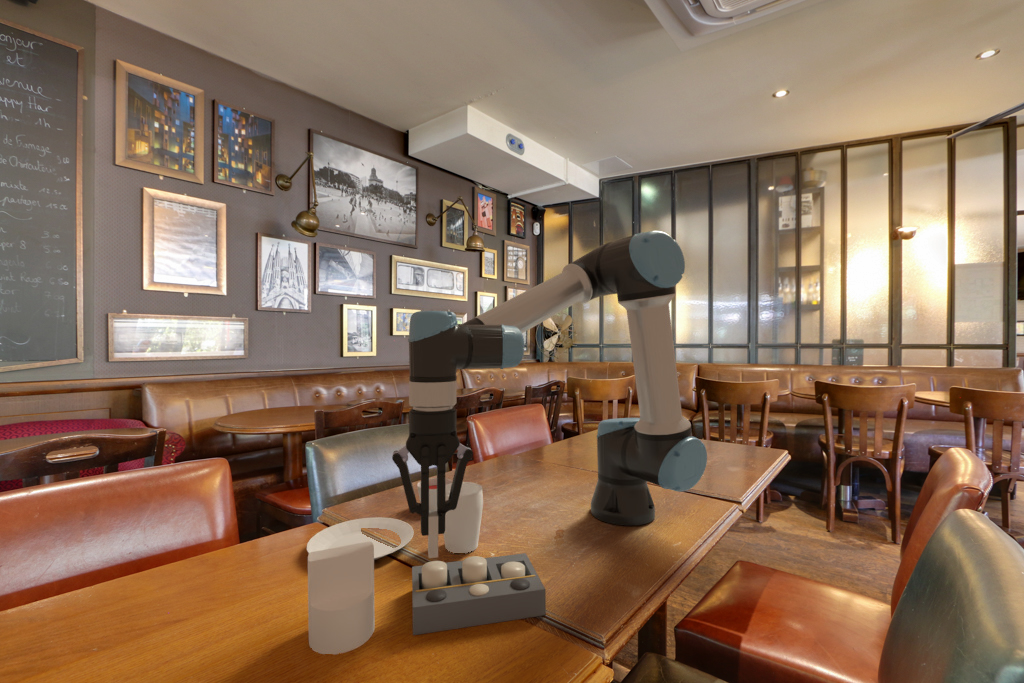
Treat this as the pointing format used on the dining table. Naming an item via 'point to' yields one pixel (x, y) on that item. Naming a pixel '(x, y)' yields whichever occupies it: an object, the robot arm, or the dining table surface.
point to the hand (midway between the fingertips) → (433, 553)
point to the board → (477, 597)
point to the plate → (360, 535)
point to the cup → (464, 519)
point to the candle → (432, 492)
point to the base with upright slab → (341, 598)
